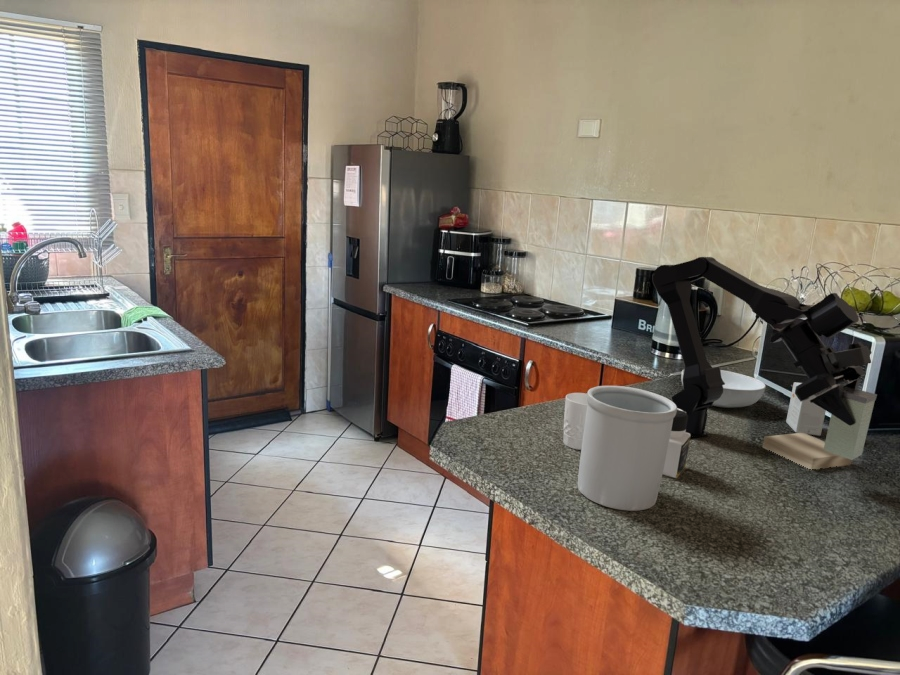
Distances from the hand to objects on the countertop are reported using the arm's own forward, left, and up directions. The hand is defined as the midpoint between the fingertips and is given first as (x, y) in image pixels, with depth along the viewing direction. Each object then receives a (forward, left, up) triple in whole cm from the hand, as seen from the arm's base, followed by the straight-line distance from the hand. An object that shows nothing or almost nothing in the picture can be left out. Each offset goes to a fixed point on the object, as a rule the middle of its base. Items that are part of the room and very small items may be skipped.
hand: (858, 422), depth 122 cm
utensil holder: (-45, +9, -14) cm, 48 cm away
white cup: (-39, +30, -14) cm, 52 cm away
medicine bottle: (-29, +16, -14) cm, 36 cm away
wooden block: (+8, +14, -14) cm, 21 cm away
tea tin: (0, +1, -7) cm, 7 cm away
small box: (+23, +27, -14) cm, 38 cm away
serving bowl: (+17, +48, -14) cm, 53 cm away
